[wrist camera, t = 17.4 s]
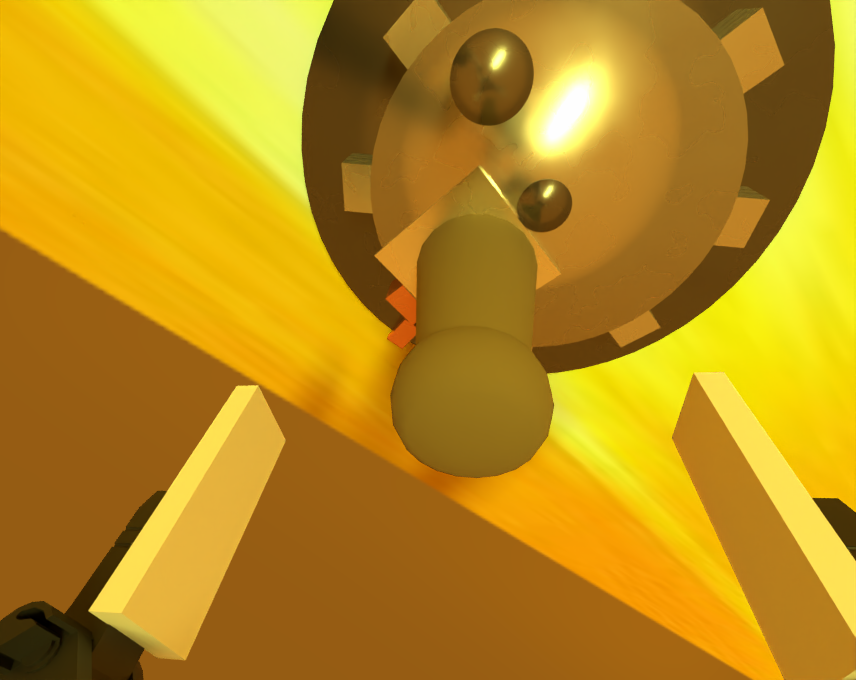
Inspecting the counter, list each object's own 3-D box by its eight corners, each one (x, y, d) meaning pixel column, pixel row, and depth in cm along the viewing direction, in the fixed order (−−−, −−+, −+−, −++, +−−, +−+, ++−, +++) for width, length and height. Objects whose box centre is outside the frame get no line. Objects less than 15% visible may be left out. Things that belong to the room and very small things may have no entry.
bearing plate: (360, 375, 30) (358, 381, 29) (223, -101, 16) (215, -105, 15) (732, 367, 26) (736, 374, 25) (979, -273, 12) (999, -284, 12)
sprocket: (455, 379, 28) (448, 465, 23) (276, 104, 20) (191, 133, 14) (777, 272, 22) (879, 357, 16) (727, -225, 13) (917, -426, 7)
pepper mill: (554, 225, 19) (611, 390, 10) (519, 331, 23) (539, 518, 14) (424, 202, 19) (372, 347, 10) (410, 311, 23) (363, 486, 14)
